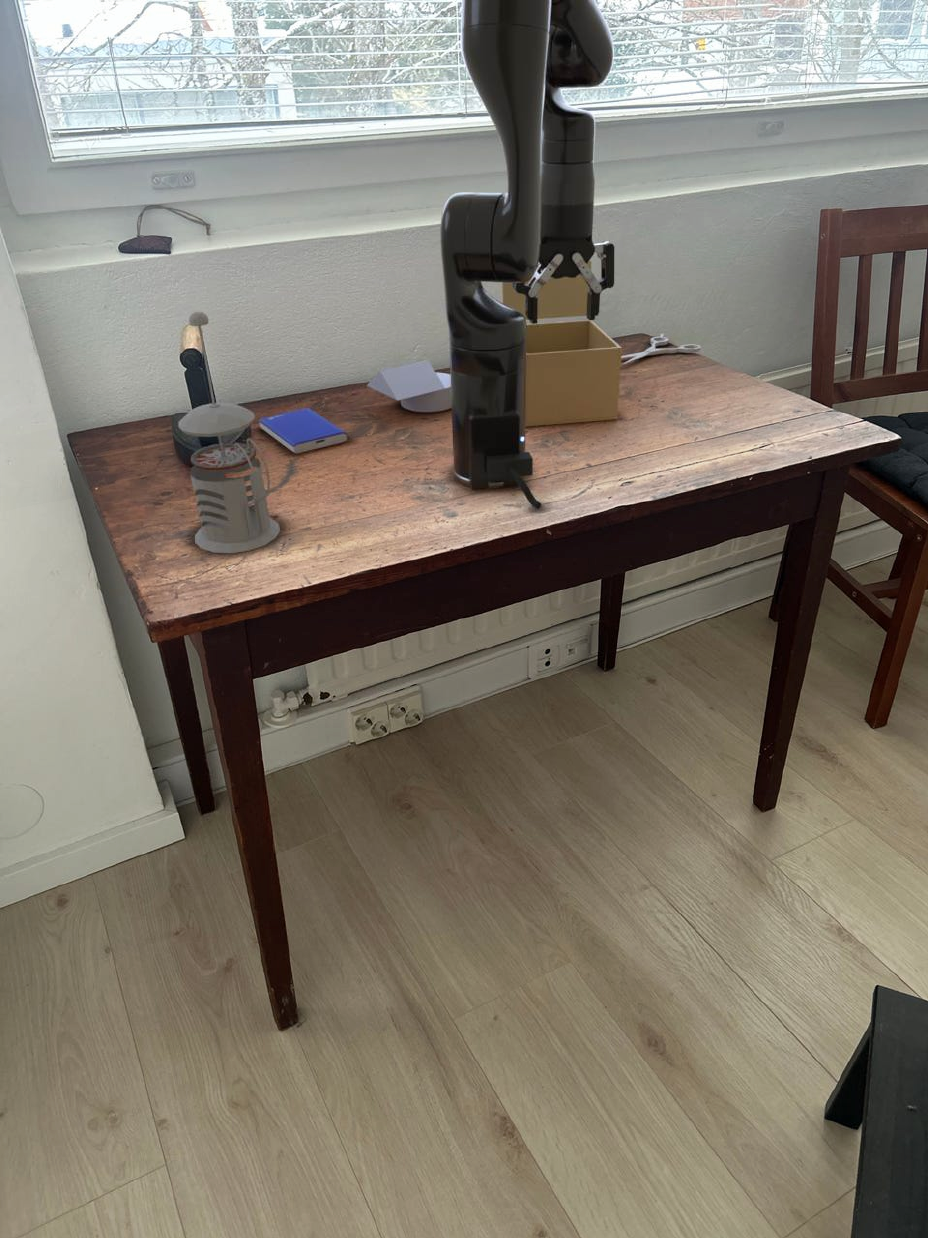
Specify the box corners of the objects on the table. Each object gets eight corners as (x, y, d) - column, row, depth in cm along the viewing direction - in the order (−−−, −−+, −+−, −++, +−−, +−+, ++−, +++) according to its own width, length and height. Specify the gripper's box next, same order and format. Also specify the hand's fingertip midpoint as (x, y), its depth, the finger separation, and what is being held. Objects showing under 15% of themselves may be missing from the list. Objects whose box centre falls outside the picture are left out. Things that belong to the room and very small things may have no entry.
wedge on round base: (399, 422, 133) (469, 403, 139) (395, 377, 130) (468, 360, 136) (368, 406, 139) (437, 389, 146) (364, 363, 136) (435, 347, 142)
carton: (503, 392, 144) (503, 325, 138) (588, 385, 145) (591, 319, 139) (524, 426, 130) (524, 354, 125) (617, 419, 132) (622, 347, 126)
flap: (503, 321, 137) (503, 320, 138) (591, 315, 139) (590, 315, 139) (501, 266, 134) (501, 266, 135) (591, 260, 136) (590, 260, 136)
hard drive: (258, 418, 132) (292, 443, 123) (309, 407, 135) (346, 430, 126) (260, 428, 132) (294, 454, 124) (310, 417, 136) (347, 441, 127)
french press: (246, 507, 110) (209, 296, 96) (307, 534, 103) (277, 311, 89) (177, 536, 103) (127, 315, 90) (238, 567, 97) (194, 333, 83)
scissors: (709, 344, 160) (634, 367, 149) (708, 348, 160) (634, 372, 150) (662, 333, 167) (588, 354, 156) (662, 337, 167) (588, 359, 157)
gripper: (520, 204, 117) (519, 330, 126) (625, 199, 119) (617, 324, 127) (509, 197, 123) (509, 317, 132) (608, 192, 125) (602, 311, 134)
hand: (562, 320), depth 130 cm, fingers open, 8 cm apart
